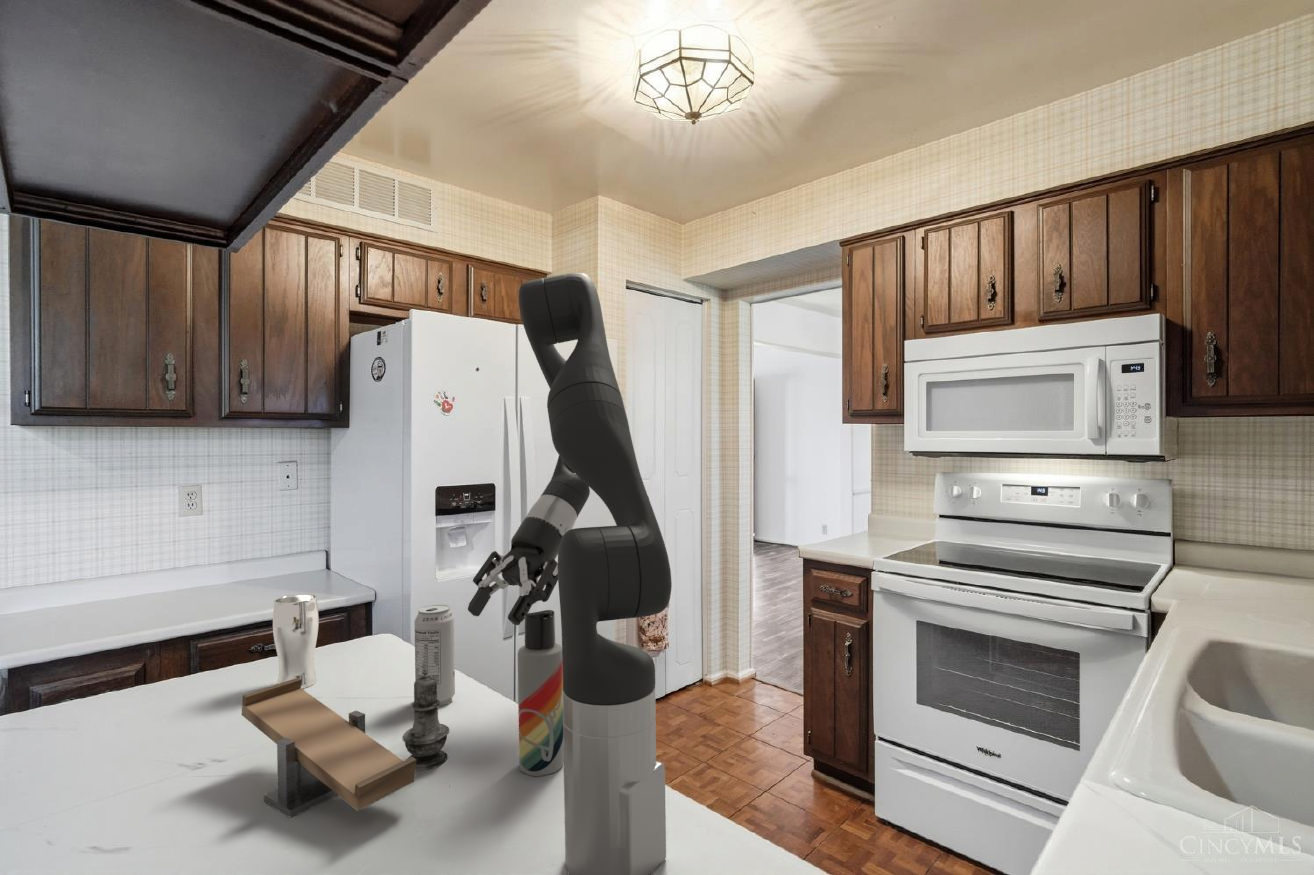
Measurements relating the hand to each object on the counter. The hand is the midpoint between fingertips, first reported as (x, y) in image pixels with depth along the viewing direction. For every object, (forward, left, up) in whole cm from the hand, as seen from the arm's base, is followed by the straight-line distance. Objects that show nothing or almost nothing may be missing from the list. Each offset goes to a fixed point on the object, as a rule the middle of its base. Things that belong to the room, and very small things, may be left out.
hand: (492, 617), depth 95 cm
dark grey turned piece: (0, +12, -16) cm, 20 cm away
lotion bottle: (-14, +5, -16) cm, 22 cm away
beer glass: (+42, +7, -16) cm, 45 cm away
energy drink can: (+15, -1, -16) cm, 22 cm away
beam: (+5, +23, -11) cm, 26 cm away
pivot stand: (+5, +23, -16) cm, 28 cm away
